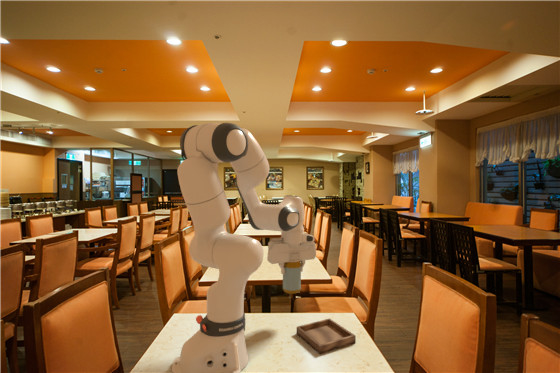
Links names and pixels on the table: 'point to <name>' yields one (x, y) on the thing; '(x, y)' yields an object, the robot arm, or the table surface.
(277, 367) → the table surface
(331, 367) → the table surface
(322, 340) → the serving tray
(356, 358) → the table surface
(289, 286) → the bottle
